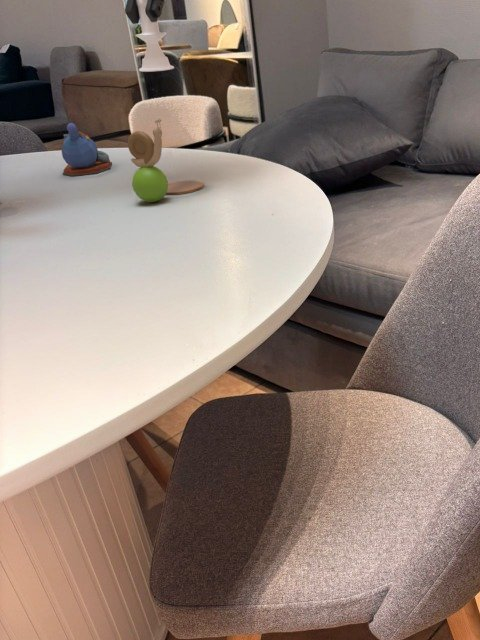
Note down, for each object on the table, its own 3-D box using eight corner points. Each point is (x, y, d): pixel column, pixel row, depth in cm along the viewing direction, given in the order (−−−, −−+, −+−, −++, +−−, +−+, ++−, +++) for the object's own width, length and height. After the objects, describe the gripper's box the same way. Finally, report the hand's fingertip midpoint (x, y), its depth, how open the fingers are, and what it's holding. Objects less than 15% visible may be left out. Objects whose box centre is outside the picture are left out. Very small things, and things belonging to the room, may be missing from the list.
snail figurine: (165, 206, 97) (149, 122, 91) (129, 206, 99) (111, 123, 93) (182, 197, 102) (168, 115, 95) (147, 196, 104) (131, 117, 97)
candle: (181, 68, 97) (168, -27, 91) (153, 72, 94) (137, -26, 87) (159, 67, 100) (145, -24, 94) (131, 71, 97) (115, -23, 91)
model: (108, 172, 124) (97, 120, 119) (60, 178, 123) (46, 126, 118) (113, 160, 134) (103, 113, 129) (69, 166, 133) (56, 118, 128)
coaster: (152, 196, 104) (152, 194, 103) (161, 185, 110) (160, 182, 110) (201, 192, 103) (200, 190, 103) (207, 181, 110) (206, 178, 110)
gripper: (113, -99, 94) (85, 2, 91) (197, -113, 89) (170, -8, 86) (140, -53, 101) (115, 41, 98) (219, -65, 96) (195, 34, 93)
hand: (141, 18), depth 92 cm, fingers closed on candle, 2 cm apart
